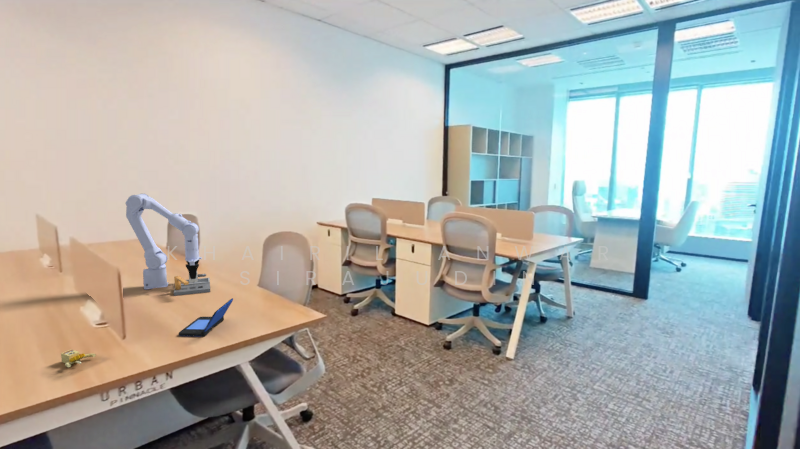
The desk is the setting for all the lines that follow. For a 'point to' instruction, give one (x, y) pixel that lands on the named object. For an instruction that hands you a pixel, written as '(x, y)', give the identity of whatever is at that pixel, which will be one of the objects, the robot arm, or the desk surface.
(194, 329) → the handheld game console
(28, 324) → the desk surface
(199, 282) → the tray
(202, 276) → the plug
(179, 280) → the clip
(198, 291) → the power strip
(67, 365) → the character toy
